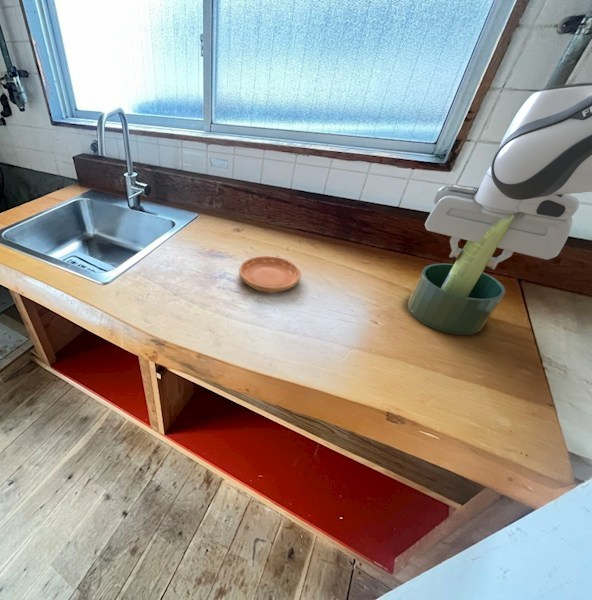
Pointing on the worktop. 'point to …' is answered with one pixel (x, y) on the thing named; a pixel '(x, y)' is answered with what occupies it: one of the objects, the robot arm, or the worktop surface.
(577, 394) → the worktop surface
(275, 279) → the saucer
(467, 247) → the tube
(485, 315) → the vessel
